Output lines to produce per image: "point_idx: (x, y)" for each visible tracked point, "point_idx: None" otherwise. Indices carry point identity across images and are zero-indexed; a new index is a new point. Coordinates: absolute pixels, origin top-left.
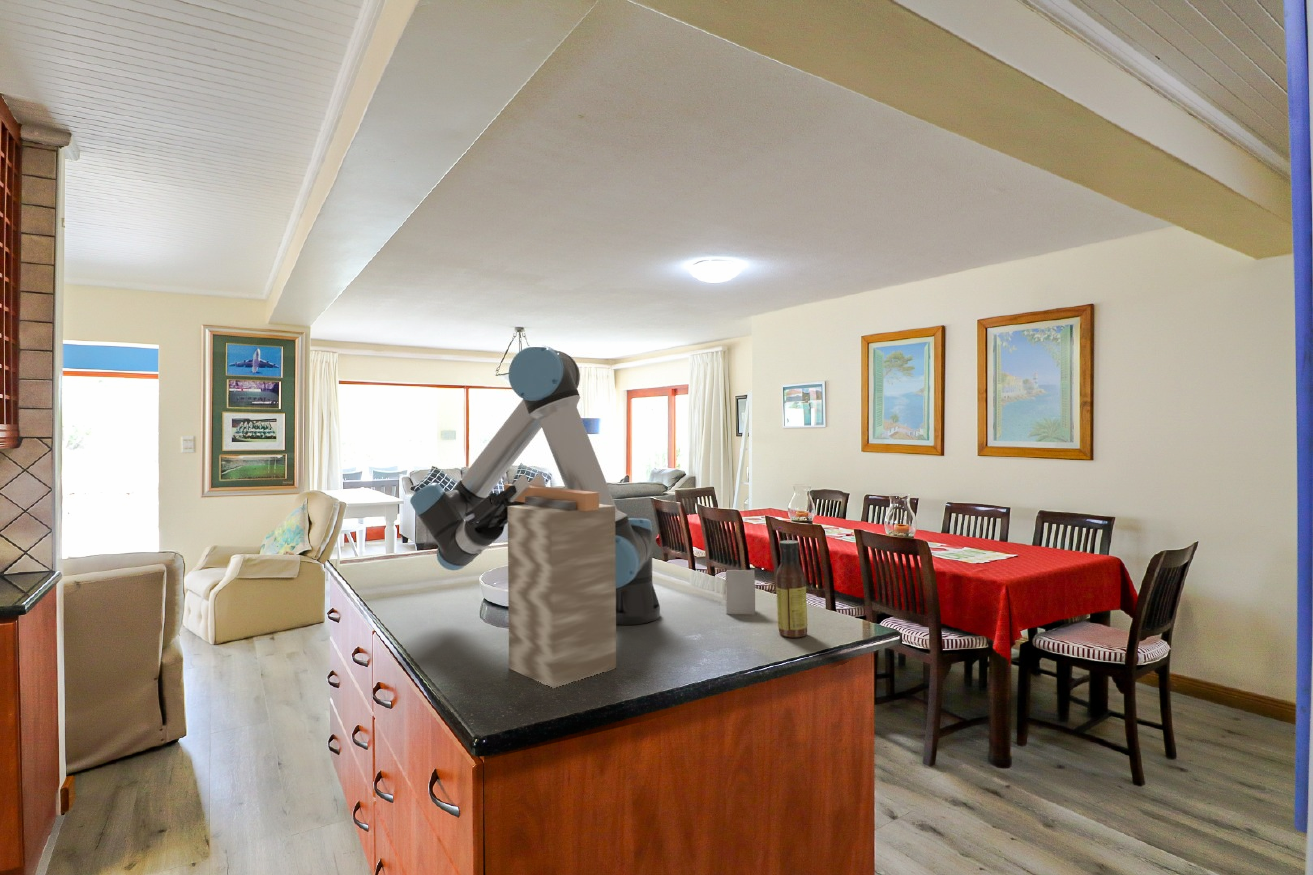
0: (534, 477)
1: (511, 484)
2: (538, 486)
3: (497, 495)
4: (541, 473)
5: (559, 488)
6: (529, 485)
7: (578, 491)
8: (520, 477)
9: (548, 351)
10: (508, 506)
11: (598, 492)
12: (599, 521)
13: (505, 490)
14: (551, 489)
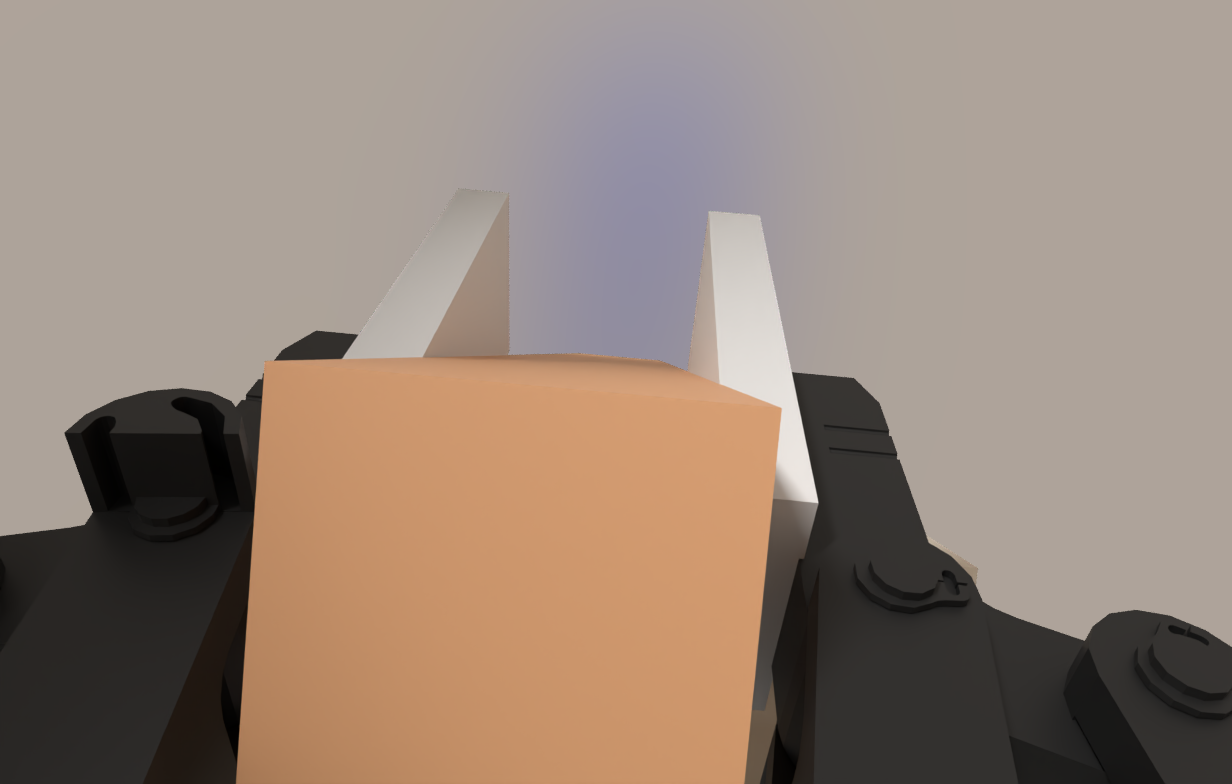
0: (488, 235)
1: (577, 384)
2: (538, 358)
3: (1053, 647)
4: (462, 189)
5: (559, 355)
6: (503, 360)
7: (613, 357)
8: (761, 248)
9: None
10: (970, 565)
11: (580, 353)
12: None
13: (904, 482)
14: (651, 363)
